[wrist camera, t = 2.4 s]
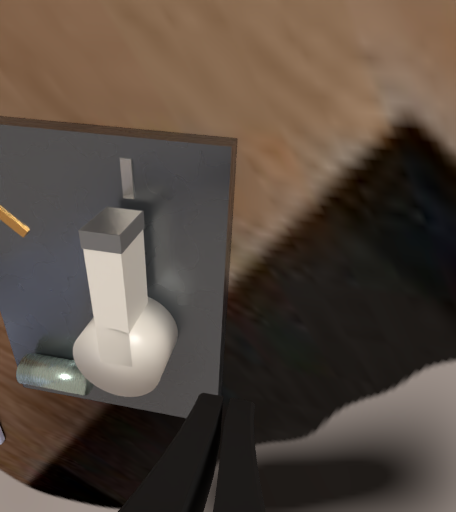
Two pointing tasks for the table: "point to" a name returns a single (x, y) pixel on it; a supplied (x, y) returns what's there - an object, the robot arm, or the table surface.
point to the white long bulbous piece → (121, 309)
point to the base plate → (155, 243)
